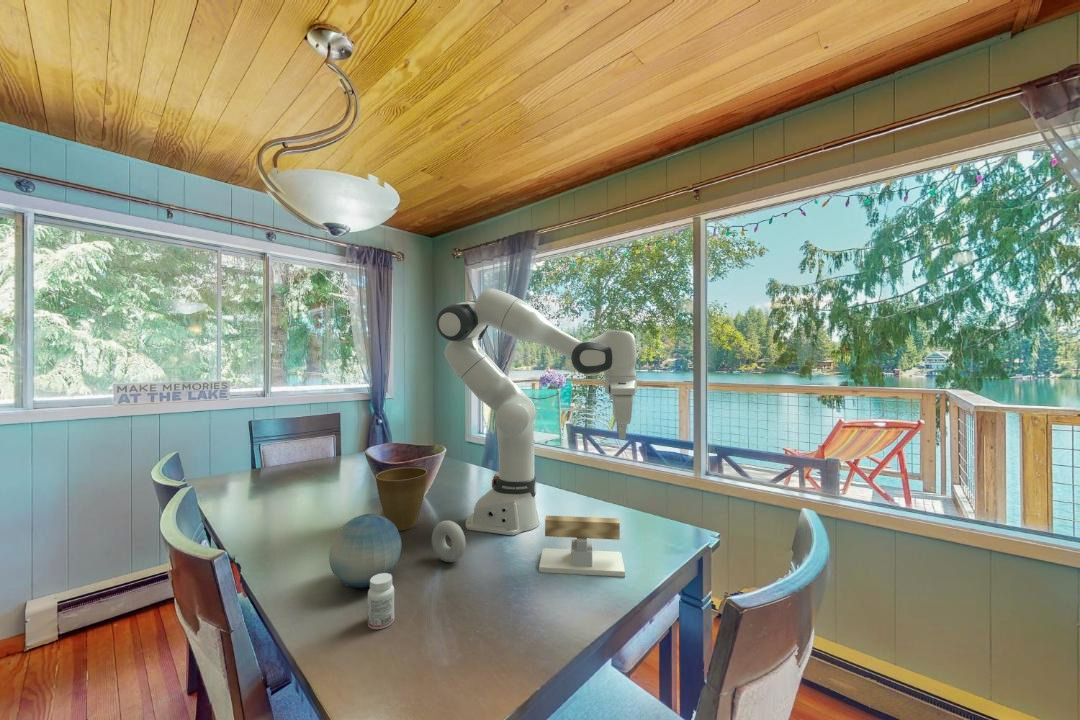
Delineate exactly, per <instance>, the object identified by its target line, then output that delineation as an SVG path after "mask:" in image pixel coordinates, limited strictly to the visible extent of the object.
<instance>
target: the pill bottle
mask: <svg viewBox="0 0 1080 720" xmlns="http://www.w3.org/2000/svg"><path fill="white" fill-rule="evenodd" d="M394 621H395V587H394V585H393V575H392V574H391V573H390V574H389V573H381V574H377V575H375V576H373V577H372V578H371V579H370V586H369V589H368V591H367V625H368V627H369V629H373V630H382V629H385V628H388V627H389V626H390V625H392V624H393V622H394Z"/></svg>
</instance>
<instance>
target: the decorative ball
mask: <svg viewBox="0 0 1080 720" xmlns="http://www.w3.org/2000/svg"><path fill="white" fill-rule="evenodd" d="M401 552H402V539H401V535H400V531H398V529H397V528H396V526H395V525H394V524H393V523H392V522H391V521H390V520H388V519H387V518H385V516H384V515H381V514H374V513H373V514H372V513H365V514H362V515H358V516H355V517H353V518H352V519H350V520H349V521H347V522H346V523H345V524H344V525H342V526H341V527H340V528H339V530H338V531H337V532H336V533H335V535H334V537H333V538H332V540H331V543H330V547H329V552H328V553H329V554H328V555H329V556H328V559H329V560H328V562H329V563H328V564H329V567H330V569H331V572H332V574H333V575H334V576H335V577H336V579H337V580H338V581H340V583H342V584H343V585H346V586H348V587H350V588H357V589H359V588H360V589H362V588H368V587H369V588H370V579H371V578H372V577H373V576H375V575H377V574H381V573H389V574H391V573H392V572H393V570H394V569H395V567H396V565H397V563H398V561H399V559H400V557H401Z"/></svg>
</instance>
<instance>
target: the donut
mask: <svg viewBox="0 0 1080 720" xmlns="http://www.w3.org/2000/svg"><path fill="white" fill-rule="evenodd" d="M446 536H448V537H449V539H450V540H451V541H450V542H451V547H450V546H449V545H448V544H447V541H446ZM466 543H467V542H466V536H465V533H464V531H463V529H462V527H461V526H460V525H459V524H458V523H457V522H455V521H453V520H442V521H440V522H439V523H437V524H436V526H435V527H434V529H433V531H432V534H431V545H432V549H433V551H434V553H435V555H436V556H437V557H438V558H439V559H440V560H441V561H443V562H445V563H454V562H457V561H458V560H459V559H461V557H462V556H463V555H464V553H465V550H466Z"/></svg>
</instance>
